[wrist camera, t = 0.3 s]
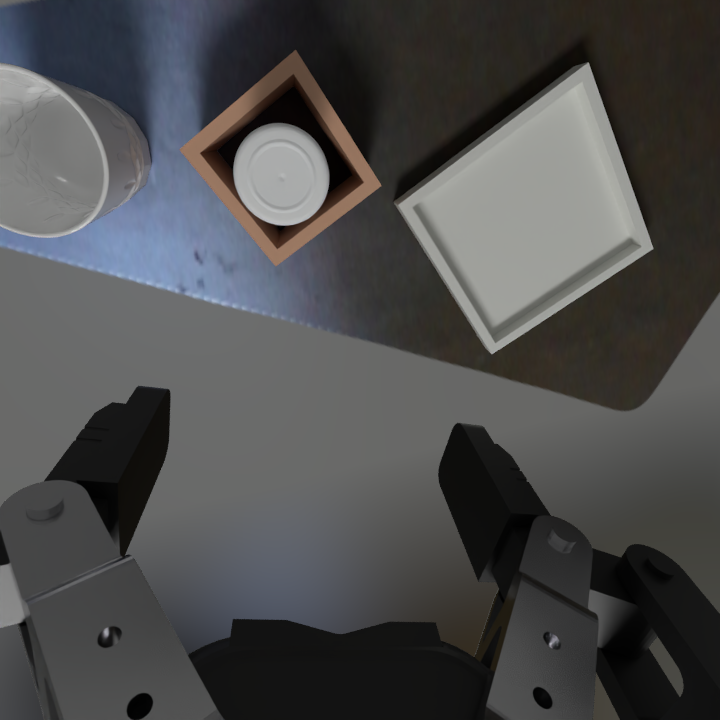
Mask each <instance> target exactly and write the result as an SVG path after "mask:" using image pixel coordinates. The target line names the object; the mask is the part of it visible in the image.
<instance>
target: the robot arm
mask: <svg viewBox="0 0 720 720" xmlns="http://www.w3.org/2000/svg"><path fill="white" fill-rule="evenodd" d="M169 426H170V390H169V389H163V388H154V387H145V386H138V387H137V388H136V389H135V391H134V392H133V394H132V395H131V397H130V398H129V400H128V401H127V403H126V404H122V403H113V402H112V403H111V404H109V405H108V406H106V407H104V408H102V409H101V410H99V411H97V412H96V413H94V415H93V416H92V418H91V419H90V420H89V421H88V423H87V424H86V425H85V428H84V429H83V430H82V431H81V432H80V433H79V435H78V436H77V438H76V441H74V442H73V443H72V444H71V446H70V447H69V449H68V450H67V451H66V452H65V454H64V455H63V456H62V458H61V459H60V460H59V462H58V463H57V464H56V466H55V467H54V468H53V470H52V471H51V472H50V474H49V475H48V477H47V478H46V479H45V481H44V482H40V483H36V484H33V485H30V486H28V487H25V488H23V489H21V490H19V491H18V492H16V493H14V494H13V495H12V496H10V497H9V498H8V499H7V500H6V501H5V502H4V503H3V504H2V506H1V507H0V628H2V627H5V626H9V625H13V624H17V625H18V629H19V632H20V636H21V639H22V642H23V646H24V649H25V653H26V656H27V660H28V663H29V667H30V670H31V673H32V677H33V680H34V684H35V687H36V691H37V694H38V697H39V701H40V705H41V708H42V713H43V717H44V720H593V711H594V695H595V677H596V673H597V675H598V677H599V679H600V681H601V683H602V685H603V687H604V688H605V691H606V693H607V695H608V697H609V698H610V700H611V703H612V705H613V706H614V708H615V710H616V712H617V714H618V716H619V718H620V720H720V614H719V613H718V611H717V610H716V609H715V608H714V606H713V605H712V604H711V603H710V602H709V601H708V599H707V598H706V597H705V596H704V594H703V593H702V592H701V591H700V590H699V588H698V587H697V586H696V585H695V583H694V582H693V581H692V580H691V579H690V577H689V576H688V575H687V574H686V573H685V571H684V570H683V569H682V568H681V567H680V566H679V565H678V564H677V563H676V562H674V561H673V560H672V559H670V558H669V557H668V556H666V555H665V554H663V553H661V552H660V551H658V550H655V549H653V548H651V547H648V546H645V545H640V544H634V545H631V546H629V547H628V548H627V549H626V551H625V553H624V554H623V555H622V557H618V556H614V555H611V554H608V553H605V552H602V551H599V550H596V549H593V548H592V546H591V544H590V542H589V541H588V539H587V538H586V537H585V535H584V534H583V533H582V532H581V531H580V530H578V529H577V528H576V527H575V526H573V525H572V524H570V523H568V522H567V521H565V520H562V519H560V518H557V517H554V516H551V515H550V514H549V512H548V511H547V509H546V508H545V506H544V505H543V503H542V502H541V500H540V499H539V497H538V496H537V494H536V493H535V491H534V490H533V488H532V486H531V485H530V483H529V482H527V481H526V480H527V479H526V477H525V476H524V474H523V473H522V471H520V468H519V467H518V465H517V464H516V463H515V461H514V459H513V458H512V456H511V455H510V454H508V453H507V452H506V451H505V450H504V449H503V448H502V447H500V446H499V445H498V444H494V442H493V441H492V439H491V438H490V436H489V434H488V433H487V431H486V430H485V428H484V427H483V426H479V425H471V424H462V423H457V424H456V425H455V426H454V427H453V429H452V432H451V435H450V437H449V440H448V443H447V446H446V448H445V451H444V454H443V457H442V459H441V462H440V466H439V473H438V477H439V484H440V487H441V489H442V492H443V494H444V497H445V499H446V502H447V504H448V507H449V509H450V512H451V514H452V517H453V519H454V522H455V524H456V527H457V529H458V532H459V534H460V537H461V539H462V542H463V544H464V547H465V549H466V552H467V554H468V557H469V559H470V562H471V564H472V566H473V569H474V572H475V574H476V577H477V579H478V582H496V583H497V585H498V587H499V589H498V592H497V594H496V595H495V597H494V600H493V603H492V606H491V609H490V612H489V615H488V618H487V621H486V624H485V627H484V630H483V633H482V636H481V639H480V642H479V645H478V648H477V651H476V654H475V656H474V657H473V656H471V655H470V654H468V653H467V652H465V651H463V650H461V649H459V648H458V647H456V646H453V645H451V644H449V643H446V642H443V641H441V640H440V636H439V633H438V629H437V626H436V623H431V622H387V623H383V624H379V625H376V626H372V627H368V628H364V629H361V630H357V631H354V632H350V633H346V634H335V633H331V632H327V631H324V630H320V629H316V628H313V627H309V626H306V625H302V624H298V623H295V622H291V621H288V620H252V619H251V620H250V619H233V623H232V629H231V637H229V638H225V639H222V640H218V641H216V642H213V643H211V644H208V645H205V646H203V647H201V648H199V649H197V650H195V651H194V652H192V653H190V654H189V655H187V653H186V651H185V649H184V648H183V646H182V644H181V642H180V640H179V639H178V637H177V635H176V633H175V631H174V629H173V628H172V626H171V624H170V622H169V620H168V619H167V617H166V615H165V613H164V611H163V609H162V608H161V606H160V604H159V602H158V600H157V598H156V597H155V595H154V593H153V591H152V589H151V587H150V586H149V584H148V582H147V580H146V578H145V576H144V575H143V573H142V571H141V569H140V567H139V566H138V564H137V562H136V561H135V559H134V558H133V557H132V556H131V555H126V556H125V554H126V551H127V549H128V547H129V544H130V542H131V540H132V537H133V535H134V532H135V530H136V528H137V525H138V523H139V520H140V518H141V516H142V513H143V511H144V509H145V506H146V504H147V501H148V499H149V497H150V494H151V492H152V489H153V487H154V485H155V482H156V480H157V477H158V475H159V473H160V470H161V468H162V466H163V463H164V461H165V457H166V454H167V449H168V443H169ZM657 636H658V638H659V639H660V640H661V642H662V644H663V645H664V646H665V648H666V650H667V651H668V653H669V654H670V656H671V657H672V658H673V660H674V662H675V663H676V665H677V666H678V668H679V670H680V672H681V675H682V678H683V684H684V689H683V693H682V695H681V697H679V695H678V694H677V692H676V691H675V689H674V688H673V686H672V684H671V683H670V681H669V680H668V678H667V676H666V675H665V673H664V672H663V670H662V669H661V667H660V665H659V664H658V662H657V661H656V659H655V657H654V656H653V654H652V653H651V651H650V650H649V647H650V645H651V644H652V643H653V641H654V640H655V639H656V638H657Z"/></svg>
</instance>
